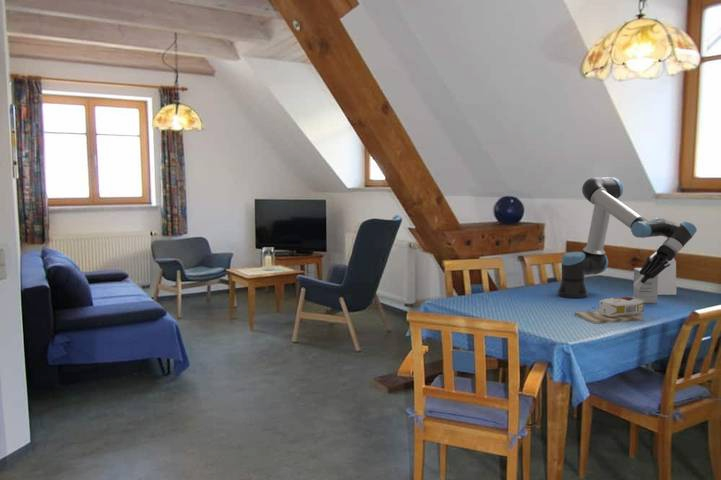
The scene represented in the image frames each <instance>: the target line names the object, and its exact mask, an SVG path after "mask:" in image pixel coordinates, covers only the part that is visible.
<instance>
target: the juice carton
mask: <svg viewBox="0 0 721 480" xmlns="http://www.w3.org/2000/svg"><path fill="white" fill-rule="evenodd" d="M598 303H599V305H598V311H599V314H603V315H606V316H609V317H622V316H632V315H638V316H640V315H641V314H645V303H644V300H642V299H637V298H634V297H633V296H623V297H611V298H604V299H601V300H599V301H598Z"/></svg>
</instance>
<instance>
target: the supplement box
mask: <svg viewBox="0 0 721 480" xmlns="http://www.w3.org/2000/svg"><path fill="white" fill-rule="evenodd" d="M641 269H642V267H634V269H633V284H634V283H635V282H636V281H637V279H638V278H639V277H640V276H641V274H640V273H639V272H640V270H641ZM657 289H658V275H657V276H655V277H654V278H653V279H652V278H650V279H648V280H647V281H646V282H645V283H644V284H643V285H642V286H641V287H640V288H639V289H636V288H635V287H634V286H633V294H632V295H633V296H632V297H634V298H637V299H642V300H644V304H657V303H658V295H657Z"/></svg>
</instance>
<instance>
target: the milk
mask: <svg viewBox="0 0 721 480" xmlns="http://www.w3.org/2000/svg"><path fill="white" fill-rule="evenodd" d="M661 245H662V244H659V246H658V248H659V247H660V246H661ZM656 254H657V250H656V251H655V252H654V253H652V254H651V255H650V256H649V258H653V256H655V255H656ZM668 263H669V264H670V266H668V267H666V268H665V269H664V270H663V271H661V272H660V273H659V274H658V289H657V296H658V295H661V296H662V295H663V296H670V295H671V296H677V261H676V259H675V257H674V258H673V259H672V260H671V261H668Z"/></svg>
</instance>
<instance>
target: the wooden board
mask: <svg viewBox="0 0 721 480" xmlns="http://www.w3.org/2000/svg"><path fill="white" fill-rule="evenodd" d="M576 315H577V316H576ZM574 316H576V317H578V316H579V318H581V319H583V318H584V319H583V320H585V319H586V321H588V320H589V321H588V322H590V321H591V322H590V323H593V322H594V323H593V324H595V323H597V324H607V323H608V322H611V323H621V322H622V323H623V322H637V321H644V320H645V317H644V316H641V315H632V316H622V317H609V316H606V315H603V314H599V310H595V311H580V312H579V311H578V312H577V311H576V312H574ZM608 324H609V323H608Z"/></svg>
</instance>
